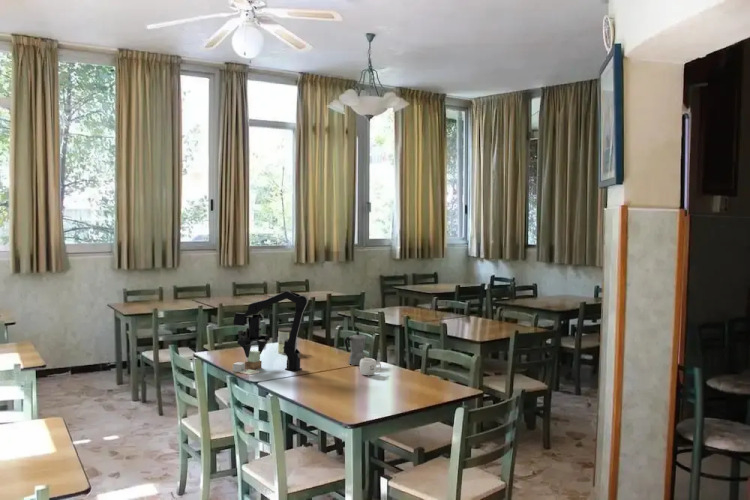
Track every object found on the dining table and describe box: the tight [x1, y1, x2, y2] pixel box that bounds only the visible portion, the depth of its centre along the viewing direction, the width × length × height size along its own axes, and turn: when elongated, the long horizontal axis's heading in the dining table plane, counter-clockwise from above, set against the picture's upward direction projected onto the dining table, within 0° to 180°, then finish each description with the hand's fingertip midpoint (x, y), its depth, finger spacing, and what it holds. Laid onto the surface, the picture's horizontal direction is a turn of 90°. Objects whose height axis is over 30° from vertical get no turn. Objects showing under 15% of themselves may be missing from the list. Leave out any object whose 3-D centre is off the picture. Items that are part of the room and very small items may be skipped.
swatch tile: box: [239, 369, 260, 376], centre depth 327 cm, size 7×7×1 cm
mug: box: [359, 357, 382, 376], centre depth 330 cm, size 12×8×8 cm
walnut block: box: [244, 360, 263, 371], centre depth 336 cm, size 6×6×4 cm
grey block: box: [232, 361, 246, 373], centre depth 330 cm, size 4×4×4 cm
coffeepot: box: [343, 331, 368, 366], centre depth 352 cm, size 15×9×18 cm, turn 129°
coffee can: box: [277, 326, 292, 355], centre depth 377 cm, size 10×10×14 cm
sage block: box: [246, 350, 261, 362], centre depth 336 cm, size 4×4×5 cm
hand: (253, 355), depth 336 cm, fingers open, 9 cm apart
